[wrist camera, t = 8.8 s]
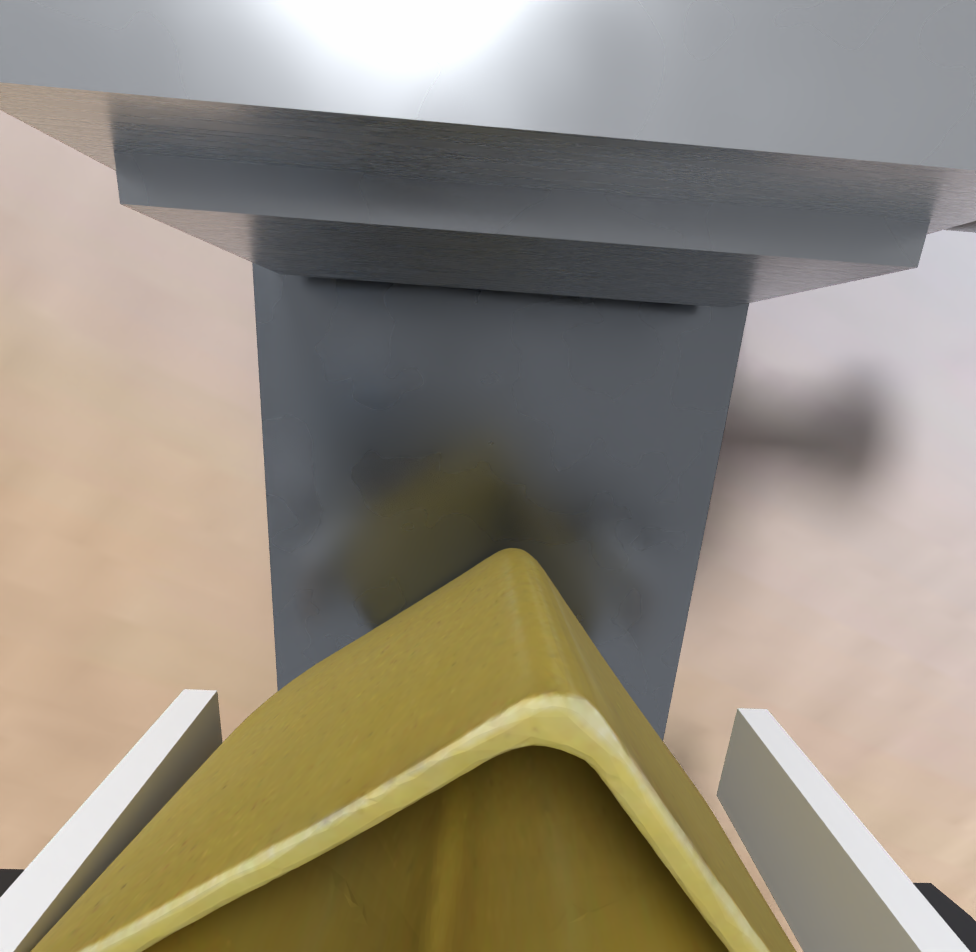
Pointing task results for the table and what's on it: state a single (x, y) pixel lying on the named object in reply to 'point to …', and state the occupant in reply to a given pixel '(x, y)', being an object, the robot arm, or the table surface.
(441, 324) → the vise base
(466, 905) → the flower pot
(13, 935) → the robot arm
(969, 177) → the block
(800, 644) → the table surface
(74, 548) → the table surface
